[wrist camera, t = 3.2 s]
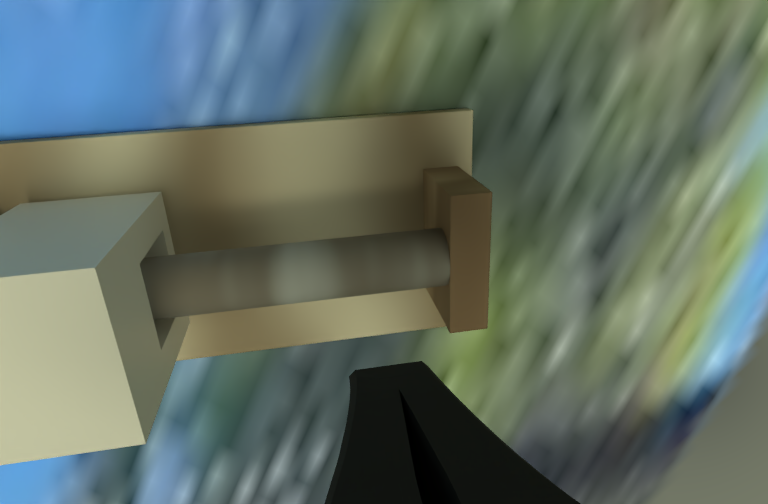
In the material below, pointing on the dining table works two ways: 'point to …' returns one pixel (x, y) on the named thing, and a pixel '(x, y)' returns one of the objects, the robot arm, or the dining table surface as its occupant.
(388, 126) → the pipe stand
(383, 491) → the robot arm
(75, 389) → the pale sage cube
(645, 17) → the dining table surface
